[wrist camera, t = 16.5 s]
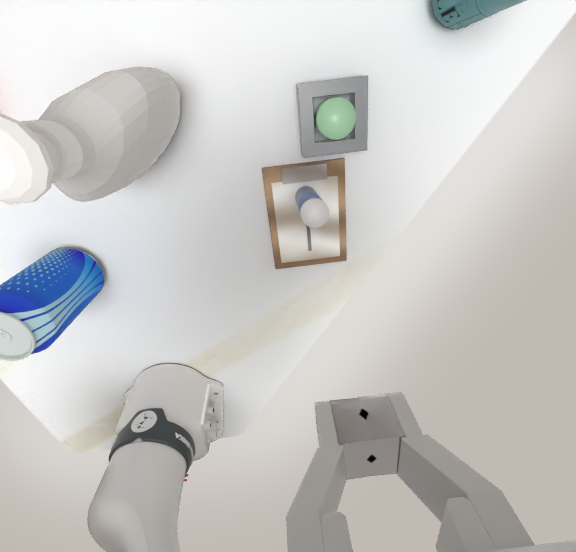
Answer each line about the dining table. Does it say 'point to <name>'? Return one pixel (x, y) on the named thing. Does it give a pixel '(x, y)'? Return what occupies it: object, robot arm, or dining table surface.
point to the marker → (311, 207)
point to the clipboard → (287, 219)
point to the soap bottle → (90, 137)
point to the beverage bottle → (467, 10)
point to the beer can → (45, 300)
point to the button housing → (306, 120)
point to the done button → (335, 118)
